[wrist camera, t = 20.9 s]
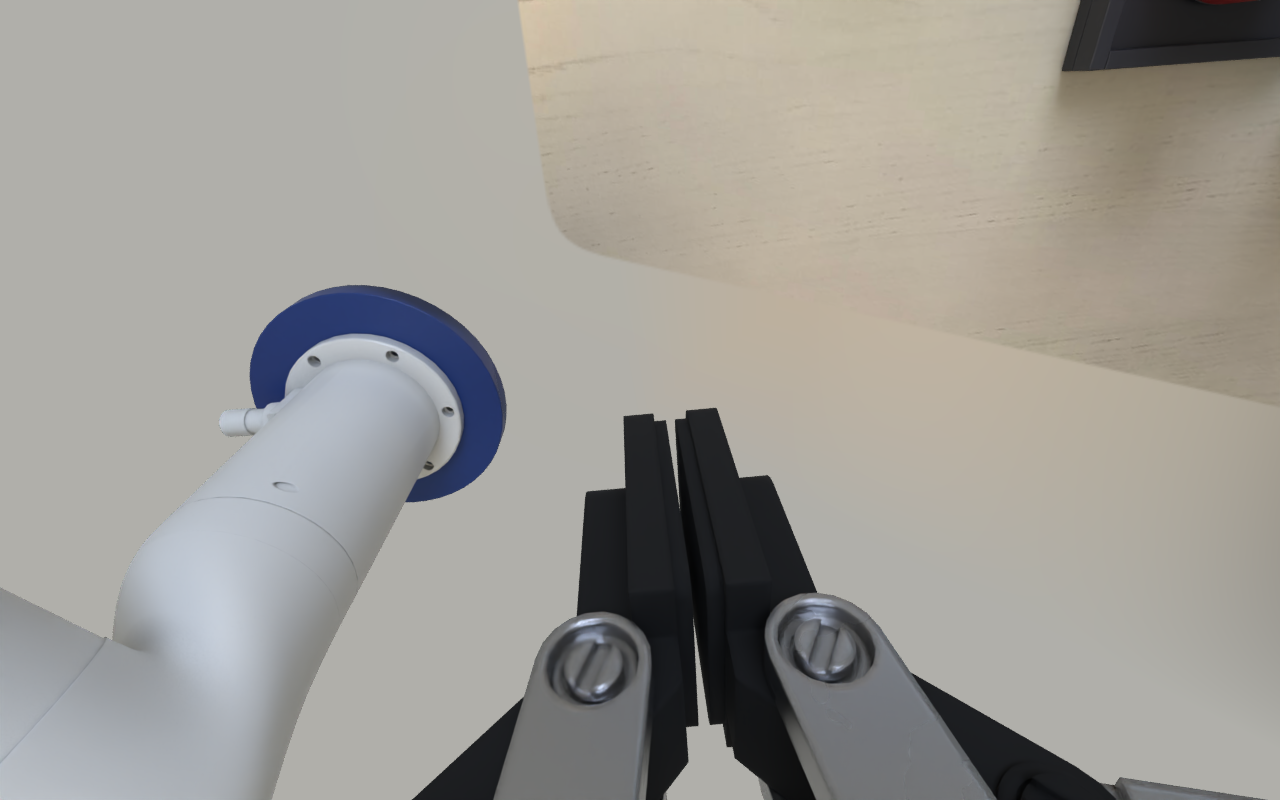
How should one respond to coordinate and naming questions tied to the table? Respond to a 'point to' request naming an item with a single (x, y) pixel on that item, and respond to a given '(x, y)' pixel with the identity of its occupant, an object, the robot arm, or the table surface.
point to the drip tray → (1170, 33)
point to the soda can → (1221, 1)
